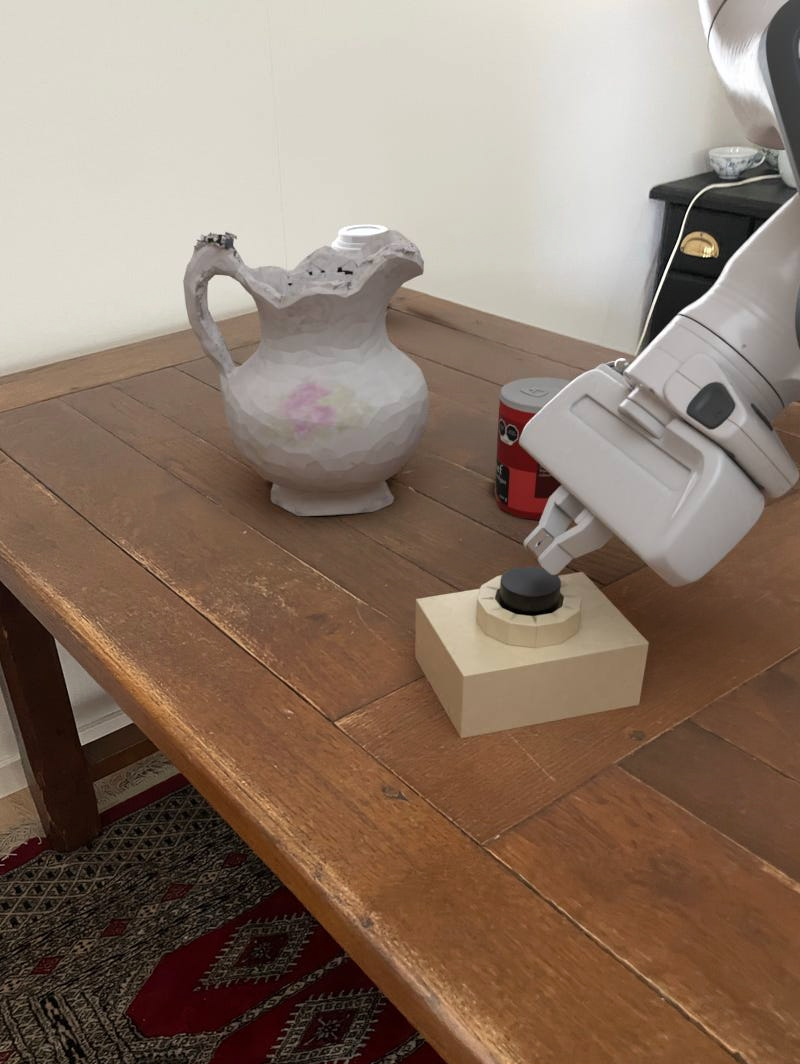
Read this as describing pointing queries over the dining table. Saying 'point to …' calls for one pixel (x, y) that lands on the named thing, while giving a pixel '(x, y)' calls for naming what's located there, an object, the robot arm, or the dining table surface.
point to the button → (529, 591)
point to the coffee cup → (356, 238)
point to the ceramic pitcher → (318, 372)
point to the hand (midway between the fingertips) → (537, 560)
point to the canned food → (516, 471)
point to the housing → (527, 657)
